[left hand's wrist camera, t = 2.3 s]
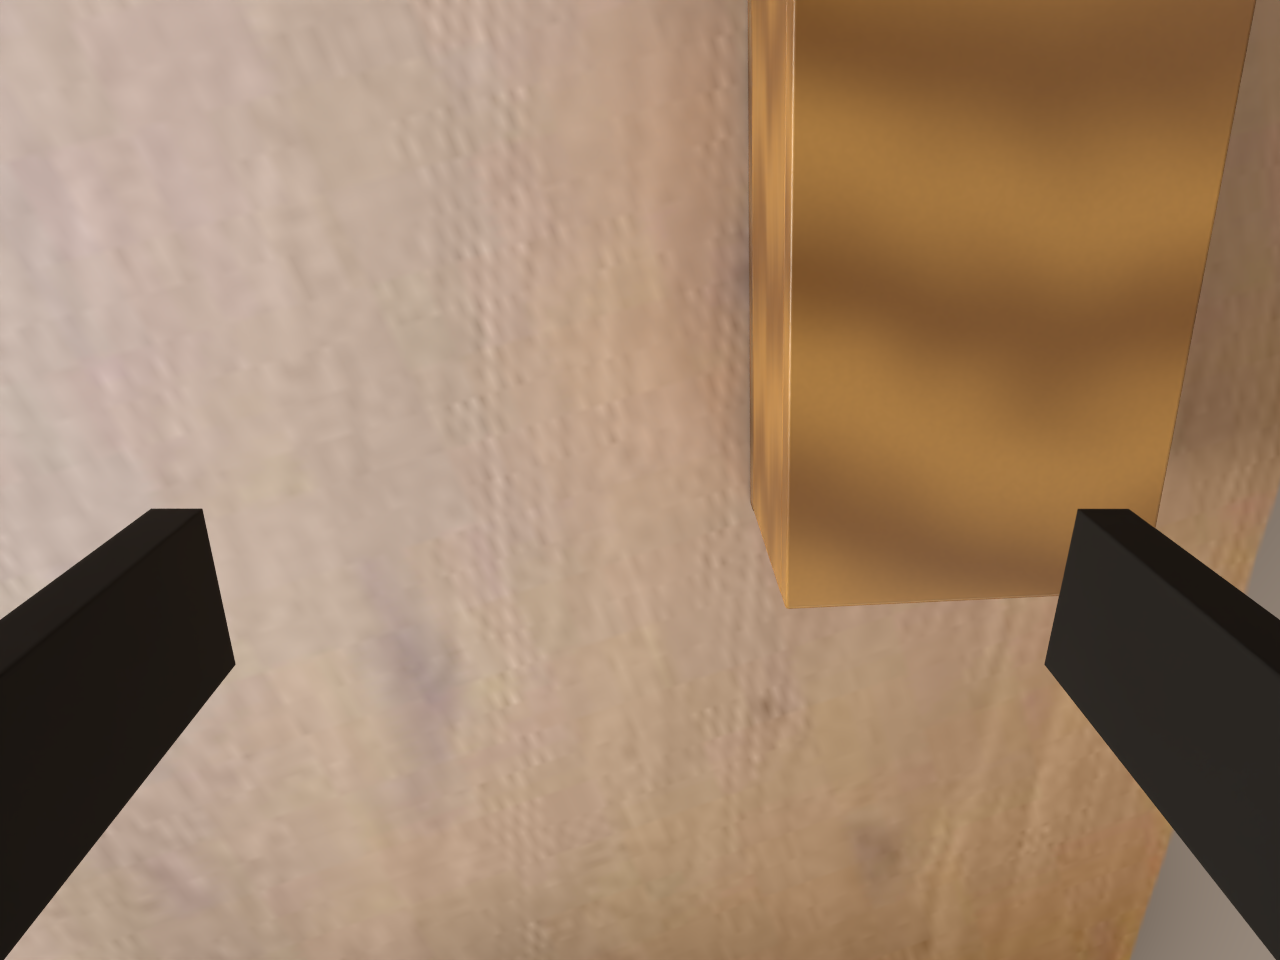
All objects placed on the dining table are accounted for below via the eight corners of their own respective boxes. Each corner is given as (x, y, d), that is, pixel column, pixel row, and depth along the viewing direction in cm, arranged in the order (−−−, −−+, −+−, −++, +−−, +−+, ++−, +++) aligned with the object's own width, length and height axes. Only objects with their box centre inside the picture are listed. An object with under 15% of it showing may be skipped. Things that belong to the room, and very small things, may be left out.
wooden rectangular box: (747, -24, 27) (794, -99, 19) (1091, -45, 27) (1283, -129, 19) (750, 502, 34) (785, 610, 26) (1024, 488, 34) (1144, 593, 26)
